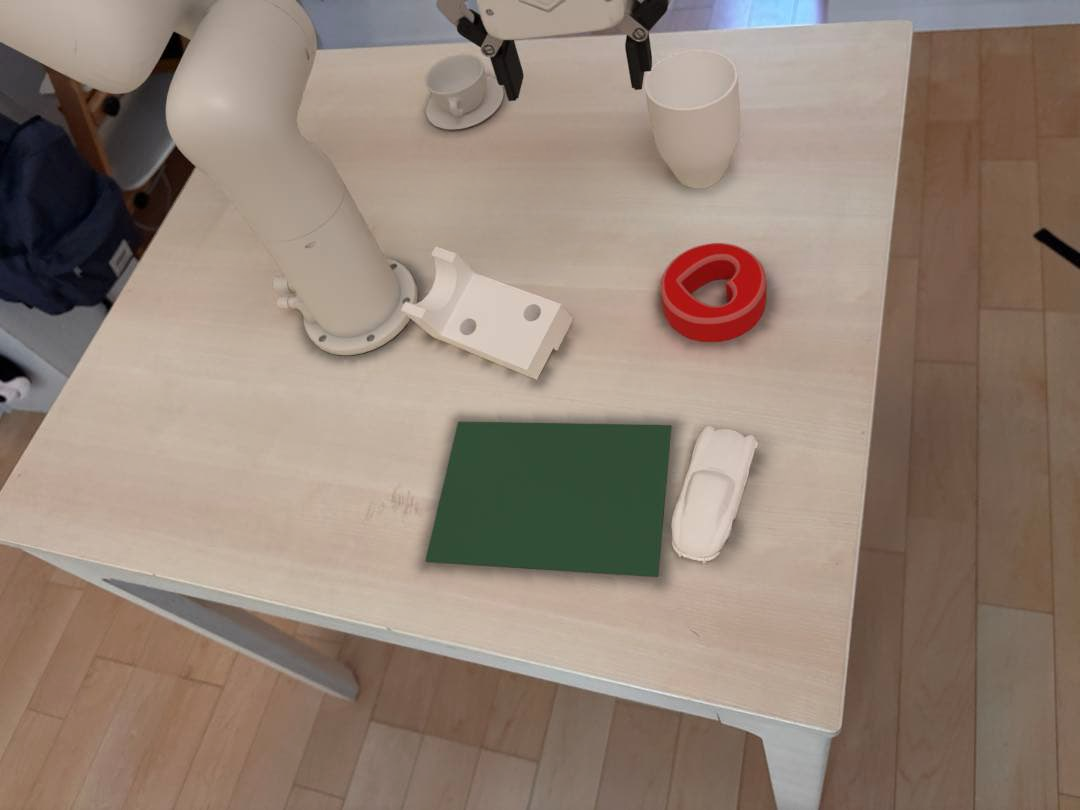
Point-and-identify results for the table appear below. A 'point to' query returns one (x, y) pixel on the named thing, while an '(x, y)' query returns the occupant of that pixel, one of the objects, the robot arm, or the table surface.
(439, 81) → the teacup
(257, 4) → the robot arm
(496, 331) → the bracket
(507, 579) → the table surface
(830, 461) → the table surface
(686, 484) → the toy car
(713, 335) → the decorative ornament
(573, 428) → the cloth mat
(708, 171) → the mug
